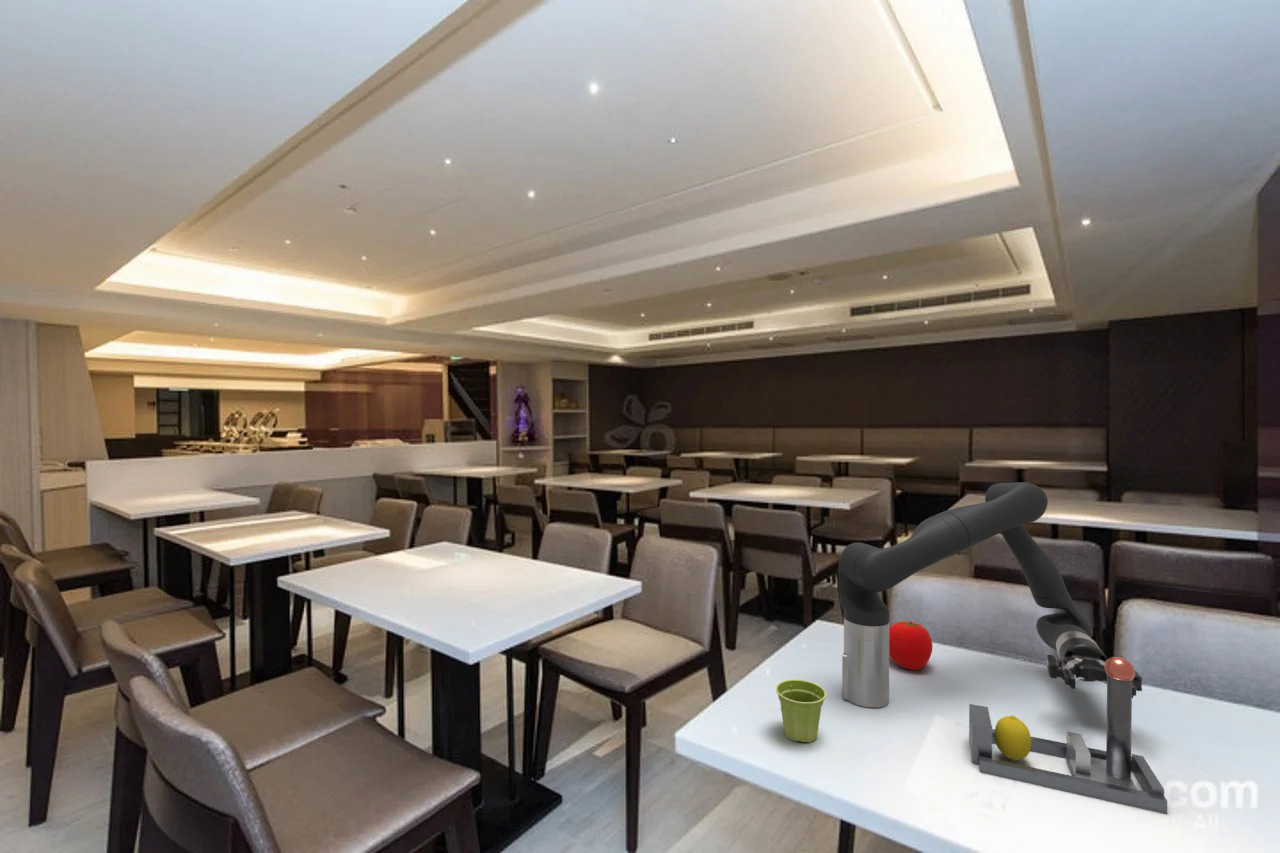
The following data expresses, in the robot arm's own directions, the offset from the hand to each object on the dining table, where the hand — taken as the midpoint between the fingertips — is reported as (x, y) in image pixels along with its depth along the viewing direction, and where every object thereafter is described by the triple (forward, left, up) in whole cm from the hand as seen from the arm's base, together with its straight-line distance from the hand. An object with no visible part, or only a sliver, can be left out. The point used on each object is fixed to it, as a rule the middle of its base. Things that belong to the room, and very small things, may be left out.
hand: (1101, 688), depth 108 cm
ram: (-3, -11, -11) cm, 16 cm away
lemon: (-15, -11, -11) cm, 22 cm away
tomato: (-33, +24, -11) cm, 42 cm away
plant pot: (-51, -19, -11) cm, 55 cm away
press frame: (-10, -11, -11) cm, 19 cm away
